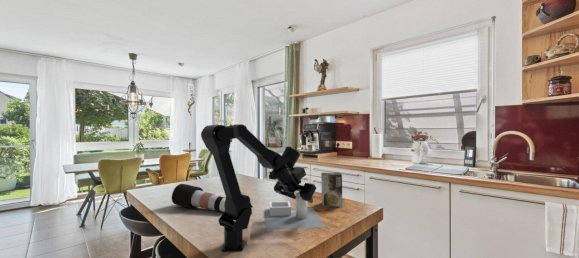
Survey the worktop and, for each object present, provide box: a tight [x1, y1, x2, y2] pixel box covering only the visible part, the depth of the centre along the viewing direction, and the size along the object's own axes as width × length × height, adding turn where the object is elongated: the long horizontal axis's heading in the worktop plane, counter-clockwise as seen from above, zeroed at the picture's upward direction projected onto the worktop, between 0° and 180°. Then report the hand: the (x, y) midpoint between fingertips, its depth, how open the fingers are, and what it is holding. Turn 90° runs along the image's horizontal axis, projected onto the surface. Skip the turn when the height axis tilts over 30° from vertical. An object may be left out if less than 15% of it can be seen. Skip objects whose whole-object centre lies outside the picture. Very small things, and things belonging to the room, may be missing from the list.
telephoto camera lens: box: [171, 183, 226, 213], centre depth 119 cm, size 10×34×10 cm, turn 70°
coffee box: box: [320, 172, 343, 209], centre depth 123 cm, size 9×6×16 cm
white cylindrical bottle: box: [295, 191, 308, 219], centre depth 105 cm, size 5×5×12 cm
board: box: [264, 200, 326, 230], centre depth 105 cm, size 24×22×5 cm
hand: (303, 200), depth 106 cm, fingers open, 9 cm apart
